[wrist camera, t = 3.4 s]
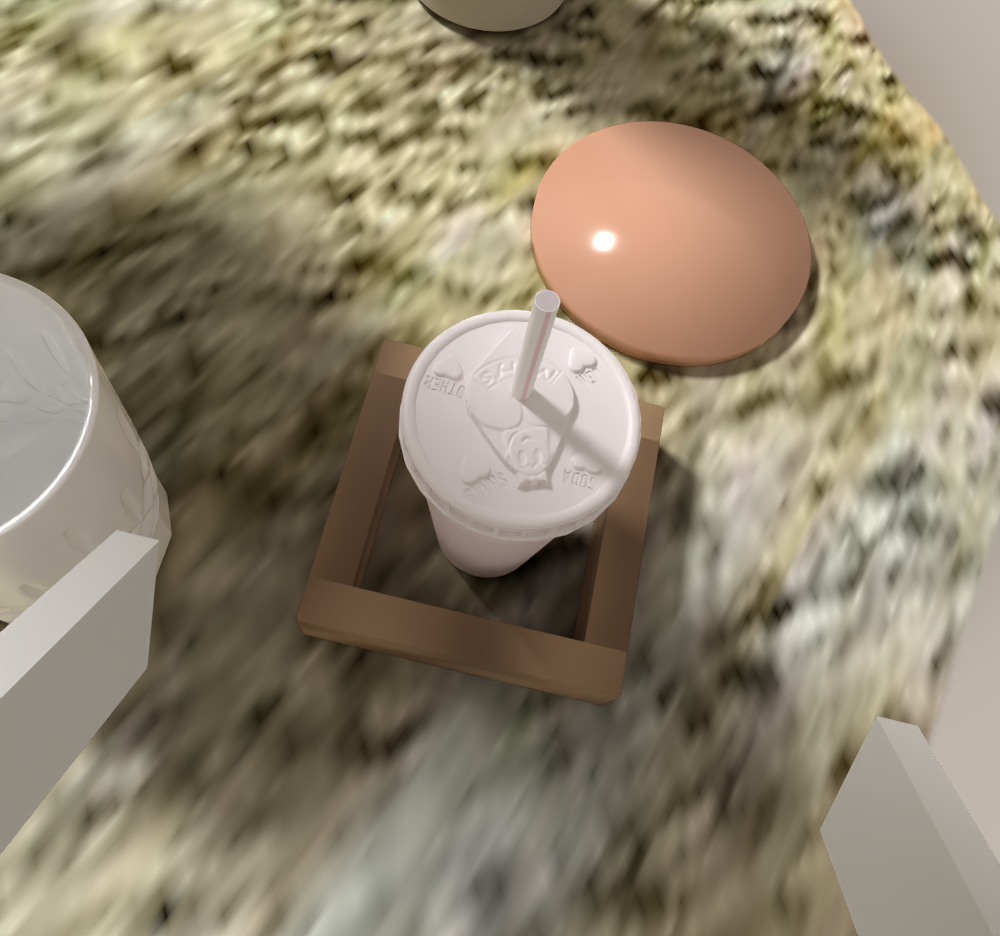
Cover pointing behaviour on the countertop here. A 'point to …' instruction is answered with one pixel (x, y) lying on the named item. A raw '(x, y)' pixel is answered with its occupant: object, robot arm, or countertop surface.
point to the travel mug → (494, 12)
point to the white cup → (62, 452)
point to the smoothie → (516, 433)
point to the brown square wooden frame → (458, 636)
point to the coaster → (670, 243)
